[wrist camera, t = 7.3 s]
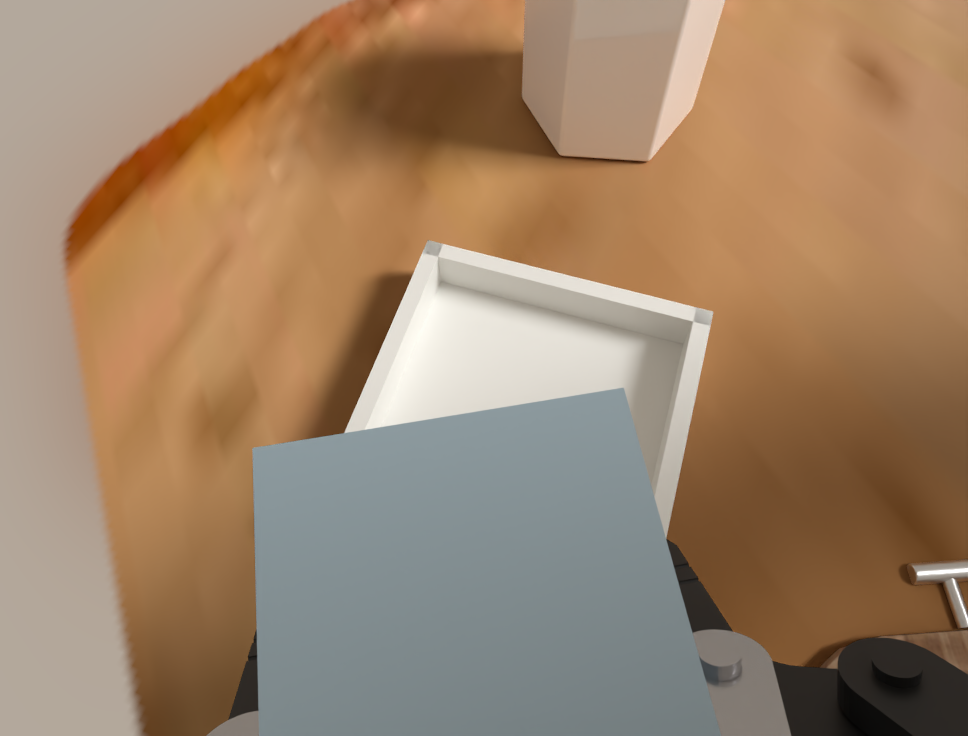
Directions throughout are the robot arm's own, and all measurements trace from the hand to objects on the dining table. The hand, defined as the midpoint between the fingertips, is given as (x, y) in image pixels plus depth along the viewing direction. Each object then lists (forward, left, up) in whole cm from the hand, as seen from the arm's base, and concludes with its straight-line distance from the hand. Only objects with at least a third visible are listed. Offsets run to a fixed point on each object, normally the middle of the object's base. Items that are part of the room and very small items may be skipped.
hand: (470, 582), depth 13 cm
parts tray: (-9, -1, -15) cm, 18 cm away
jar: (-28, -2, -15) cm, 32 cm away
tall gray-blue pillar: (+2, +1, -5) cm, 5 cm away
